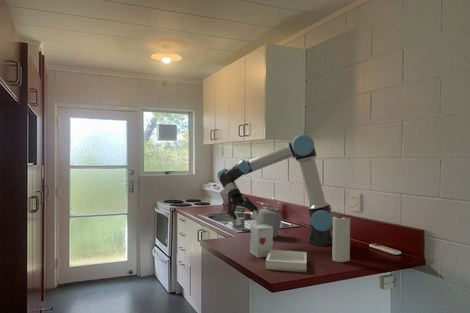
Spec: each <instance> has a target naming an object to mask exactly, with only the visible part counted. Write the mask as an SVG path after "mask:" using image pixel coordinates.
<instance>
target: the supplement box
mask: <svg viewBox="0 0 470 313" xmlns="http://www.w3.org/2000/svg"><path fill="white" fill-rule="evenodd" d="M249 235H250V237H249V239H250V242H249V254H251V255H253V256H254V257H256V258H257V259H258V258H265V257H266V258H267V256H268V254H269V251H270V250H274V243H273V242H274V237H273V227H271V226H269V225H266V224H258V225H256V224H250V234H249Z"/></svg>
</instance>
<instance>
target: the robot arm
mask: <svg viewBox="0 0 470 313" xmlns="http://www.w3.org/2000/svg"><path fill="white" fill-rule="evenodd" d="M290 158H293V159H295V161H296V162H297V163H299V166H300V170H301V174H302V179H303V182H304V183H303V184H304V186H305V190H306V194H307V198H308V201H309V206H308V207H307V209H308V213H309V217H310V230H309V233H308V236H307V243H308V244H311V245H314V246H318V247H319V246H320V247H321V246H322V247H325V246H326V247H328V246H333V232H332V229H331V228H332V227H333V217H334V216H333V214H332V206H331V204H330V203H328V202H327V201H326V198H325V195H324V191H323V187H322V184H321V179H320V175H319V170H318V166H317V162H316V158H317V152H316V148H315V142H314V139H313V138H312V137H311V136H310V135H308V134H305V133H304V134H303V133H302V134H299V135H296V136H295V137H294V138H293V141H291V142H290V141H289V142H288V143H287V145H284V146H282V147H279V148H277V149H275V150H272V151H270V152H267V153H264V154H261V155H259V156H257V157H254V158H251V159H249V160H245V159H241V160H240V161H238V162H237V163H235V164H234V165H233V166H231V168H229V169H227V168H222V169H220V170H219V171H218V172H217V179H218V181H219V182H220V184H221V186H222V188H223V189H224V192H225V193H226V195H227V197H228V198H227V199H226V205H227V206H226V210H227V211H226V212H227V215H229V216H231V217H232V220H233V219H234V220H235V221H236V223H237V225H240V223H241V221H240V219H239V217H238V215H237V213H236V212H235V209H236V206H243V207H244V208H245V209H247V210H248V211H250V212H251V214H252V216H253V218H254V219H255V222H256V224H257V223H258V222H259V221H260V218H259V216H258V215H259V212H258V210H259V208H258V207H257V206H256V205H255V204H254V203H253V202H252V201H251V200H250V199H249V198H248V197H247V196H244V198H243V197H242V195H241V193H242V192H241V191H240V189H239V187H238V186H237V184H236V182H235V181H237V180H238V179H240V178H241V177H243V176H246V175H248V174H250V173H254V172H256V171H258V170H261V169H263V168H267V167H269V166H272V165H274V164H277V163H279V162H282V161H285V160H287V159H290ZM243 202H244V204H243ZM232 203H233V204H232ZM232 206H233V207H232ZM234 212H235V213H234Z"/></svg>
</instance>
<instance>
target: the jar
mask: <svg viewBox="0 0 470 313" xmlns="http://www.w3.org/2000/svg"><path fill="white" fill-rule="evenodd" d="M272 199H274V197H272ZM279 203H280V202H278V203H277V204H279ZM279 210H280V209H278V208H274V207H270V206H264V208H261V209H259V211H258V216H259V218H260V221H259V222H258V223H257V222H256V224H255V225H258V224H266V225H269V226H271V227H273V238H277V237H278V236H279V234H280V233H279V232H280V228H281V222H282V218H283V215H282V213H281V212H279Z"/></svg>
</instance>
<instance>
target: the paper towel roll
mask: <svg viewBox="0 0 470 313" xmlns="http://www.w3.org/2000/svg"><path fill="white" fill-rule="evenodd" d="M332 217H333V224H332V236H333V245H332V251H331V252H332V259H331V260H332V261H333V262H337V263H344V262H350V261H351V260H350V257H351V256H350V255H351V253H350V251H351V250H350V248H351V218H350V217H344V216H332Z"/></svg>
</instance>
